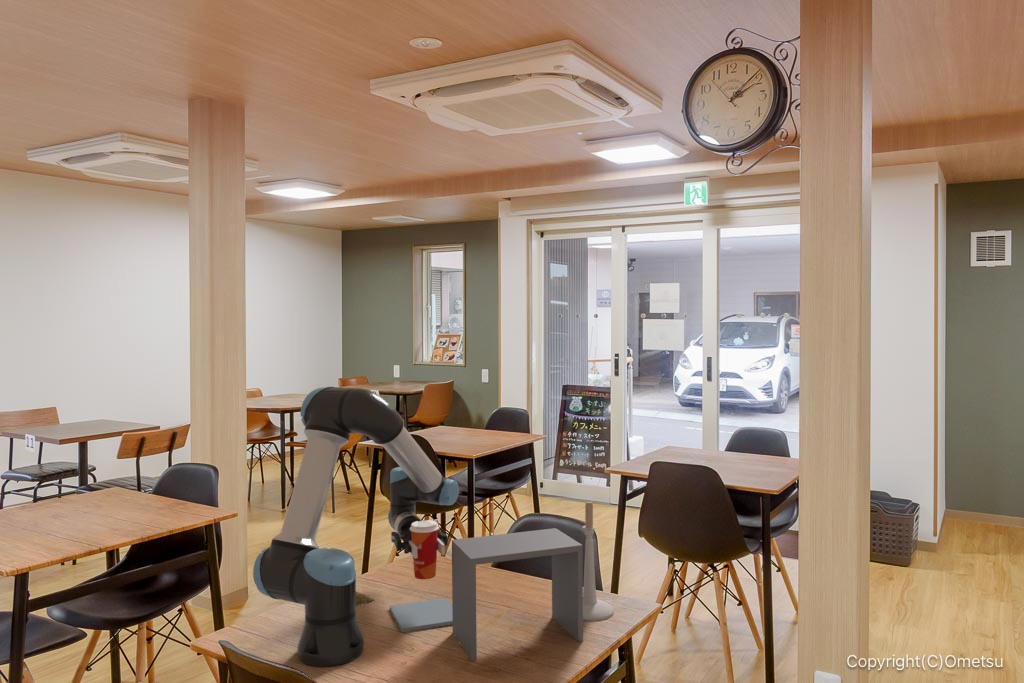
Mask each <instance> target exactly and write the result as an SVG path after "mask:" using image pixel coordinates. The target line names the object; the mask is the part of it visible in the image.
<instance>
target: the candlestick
mask: <svg viewBox="0 0 1024 683" xmlns="http://www.w3.org/2000/svg"><path fill="white" fill-rule="evenodd" d="M584 506H585V511H584V512H585V516H584V517H585V521H584V522H585V525H583V526H582V529H584V534H585V537H586V539H585V540H584V541H585V542H584V543H585V544H584V545H585V547H584V565H583V566H584V570H583V621H586V622H597V621H604V620H606V619H607V620H608V619H610V618H611V617H613V616H614V609H615V608H614V607H613V606H612V605H611V604H609V603H608V602H606V601H604V600H603V599H598V598H597V590H596V575H595V574H596V573H595V571H596V570H595V553H594V539H593V535H594V534H595V529H596V528H597V526H595V525H594V508H593V507H594V503H593V501H590V500H588V501H585V505H584Z"/></svg>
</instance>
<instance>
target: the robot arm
mask: <svg viewBox="0 0 1024 683" xmlns="http://www.w3.org/2000/svg"><path fill="white" fill-rule="evenodd" d="M300 417H301V419H300V420H301V422H302V425H303V426H304V432H303V433H304V435H305V437H306V438H307V439H306V440H307V441H306V445H305V448H304V451H303V452H304V453H303V455H302V459H301V462H300V466H299V469H298V473H297V476H296V479H295V483H294V486H293V490H292V493H291V496H290V499H289V500H290V501H289V503H288V507H287V511H286V513H285V516H284V520H283V524H282V527H281V531H280V533H278V534H277V535H275V536H273V537H272V538H271V543H270V545H269V546H268V547H266V548H263V549H262V550H261V552H260V553H258V555H257V556H256V559H255V560H254V563H253V564H254V565H253V571H252V578H253V582H254V584H255V586H256V589H257V590H258V591H259V592H260V593H261V594H262V595H264V596H266V597H269V598H271V599H273V600H281V601H286V602H290V603H295V604H299V605H303V606H304V613H305V614H304V626H303V629H302V631H301V635H300V638H299V642H298V644H297V659H298V660H299V661H300V662H301V663H303V664H305V665H307V666H312V667H333V666H340V665H343V664H347V663H350V662H351V661H353V660H356V659H357V658H358V657H360V656H361V655H362V654H363V652H364V650H365V649H364V648H365V646H364V643H365V642H364V637H363V633H362V631H361V628H360V625H359V623H358V620H357V613H356V608H357V607H356V592H357V587H356V585H357V580H356V579H357V573H356V572H357V571H356V564H355V559H354V557H353V556H352V555H351V554H350V553H349V552H347V551H345V550H343V549H339V548H333V547H331V548H327V547H322V548H321V547H320V546H319V545H318V543H317V540H316V538H317V534H318V531H319V528H320V523H321V519H322V516H323V512H324V509H325V505H326V502H327V498H328V494H329V492H330V491H329V490H330V487H331V483H332V480H333V476H334V473H335V469H336V466H337V462H338V458H339V455H340V451H341V448H342V447H343V446H345V445H347V444H348V443H349V440H350V436H351V434H360V435H363V436H366V437H368V438H369V439H371V440H372V442H374V444H376V445H381V446H382V447H383V448H384V449H385V451H386V452H387V453H388V454H389V456H390V457H391V458H392V459H393V460H394V461H395V462H396V463H397V465H398V466H397V467H393V468H392V469H391V471H390V474H389V476H390V478H389V479H390V481H389V498H390V499H389V500H390V505H389V511H388V514H387V519H388V524H389V525H390V527H391V528H392V529H393V530H394V531H391V533H390V536H391V539H390V540H391V542H392V543H394V546H395V549H396V551H397V552H401V551H403V550H404V551H403V554H405V555H406V554H407V555H408V554H409V553H410V554H411V556H412V558H413V557H414V558H417V547H416V545H415V544H414V543H412V538H411V531H410V527H411V524H412V523H413V522H416V521H418V523H419V521H422V519H420V517H419V516H418V515H417V514H416V502H417V503H418V502H419V503H426V504H432V505H439V506H453V505H454V504H455V503H456V502H457V500H458V497H459V493H460V488H459V484H458V482H457V481H456V480H454V479H450V478H445V477H444V475H443V474H442V473H441V472H440V471H439V470H438V468H437V467H436V466H435V464H434V463H433V462H432V460H431V459H430V458H429V456H428V455H427V454H426V452H425V451H424V450H423V449H422V447H421V446H420V445H419V443H417V441H416V440H415V438H413V436H412V434H410V432H409V431H408V430H407V428H406V427H405V420H404V419H403V417H402V416H401V414H400V413H399V412H398V411H397V410H396V408H394V406H392V404H390V402H388V400H386V399H384V398H383V397H382V396H381V395H379V394H377V393H376V392H374V391H371V390H369V389H367V388H362V387H361V388H360V387H359V388H358V387H357V388H355V387H354V388H353V387H336V386H335V387H334V386H325V387H318V388H315V389H314V390H312V391H310V392H309V393H308V394H307V395H306V397H305V398H304V400H303V401H302V404H301V407H300ZM448 536H449V535H447V534H446V533H444V532H443V531H441V530H440V528H439V529H438V533H437V552H438V553H440V555H441V556H445V554H446V552H445V551H446V550H445V549H446V546H448V545H449V544H448V543H449V542H448V540H449V538H448ZM402 541H403V542H402Z"/></svg>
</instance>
